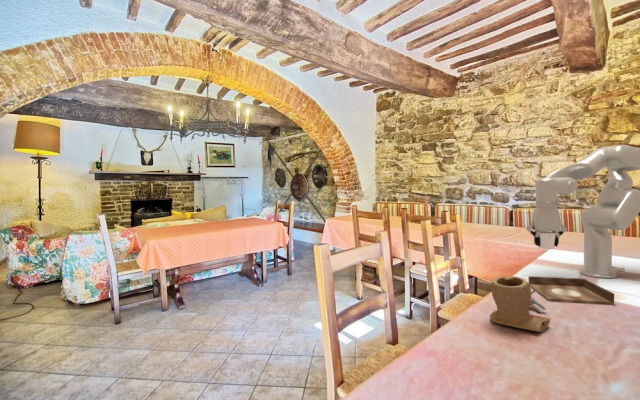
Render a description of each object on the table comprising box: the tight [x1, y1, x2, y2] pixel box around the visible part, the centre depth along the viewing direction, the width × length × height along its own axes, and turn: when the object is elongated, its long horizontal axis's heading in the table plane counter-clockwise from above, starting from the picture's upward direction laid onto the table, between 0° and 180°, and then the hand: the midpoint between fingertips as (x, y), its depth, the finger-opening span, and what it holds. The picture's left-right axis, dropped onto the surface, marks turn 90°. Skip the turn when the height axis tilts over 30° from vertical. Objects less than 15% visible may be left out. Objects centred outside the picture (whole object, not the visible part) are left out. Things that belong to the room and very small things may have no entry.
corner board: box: [528, 276, 615, 306], centre depth 118 cm, size 20×18×4 cm
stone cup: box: [489, 275, 551, 333], centre depth 93 cm, size 15×12×15 cm
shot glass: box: [537, 231, 556, 250], centre depth 136 cm, size 7×7×7 cm
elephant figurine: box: [529, 288, 547, 314], centre depth 105 cm, size 10×6×9 cm
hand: (546, 245), depth 136 cm, fingers closed on shot glass, 6 cm apart
